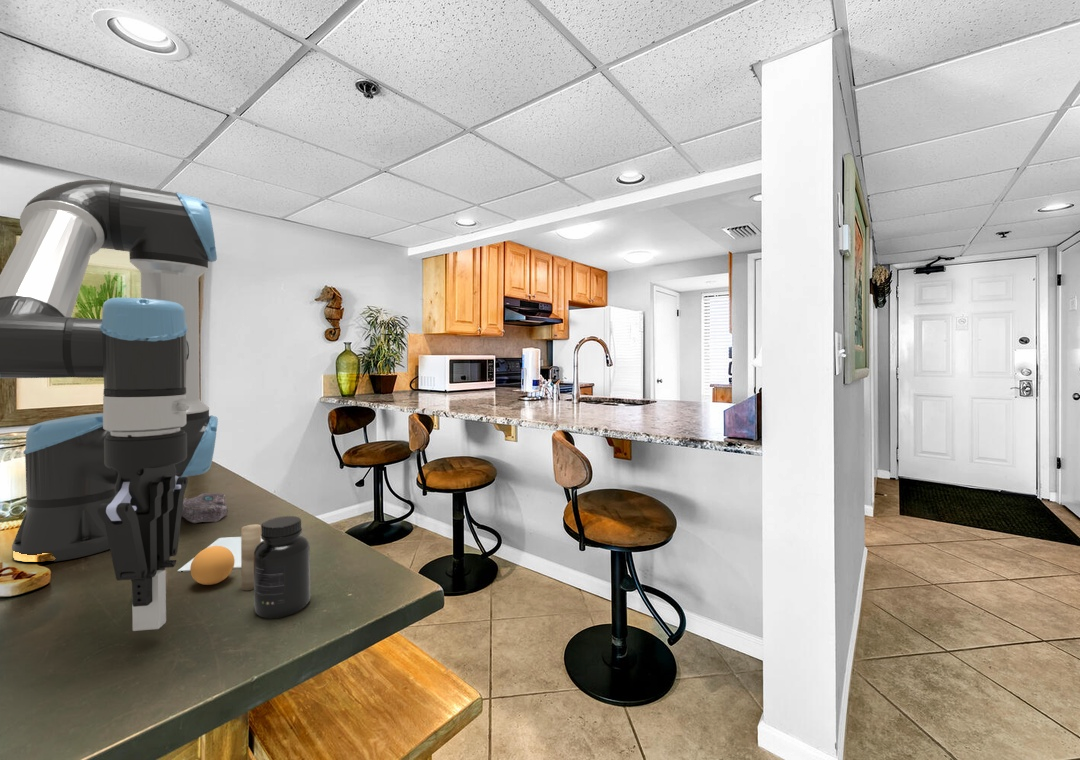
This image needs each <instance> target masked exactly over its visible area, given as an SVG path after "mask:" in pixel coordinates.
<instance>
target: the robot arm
mask: <svg viewBox="0 0 1080 760" xmlns="http://www.w3.org/2000/svg"><path fill="white" fill-rule="evenodd" d="M19 225H20V229H21V230H22V233H21V235H20V236H19V238H18V241H17V243H16V244H15V246H14V248H13V250H12V252H11V254H10V255H9V258H8V259H7V261H6V263H5V265H4V267H3V269H2V271H1V273H0V379H45V378H46V379H48V378H49V379H50V378H51V379H53V378H65V379H66V378H84V379H85V378H88V379H90V378H91V379H92V378H93V379H95V378H96V379H97V378H100V379H101V378H103V393H102V394H103V395H102V397H103V398H102V401H103V404H102V407H103V408H102V410H103V411H102V412H99V413H90V414H83V415H74V416H70V417H69V416H68V417H62V418H56V419H50V420H46V421H42V422H38V423H36V424H34V425H33V424H32V426H30V427H29V428H28V430H27V432H26V433H25V434H26V435H25V447H24V451H23V455H24V456H25V457H24V459H25V460H24V461H25V462H24V463H25V487H26V488H25V489H26V490H25V491H26V492H25V493H26V511H25V513H24V515H23V519H22V521H21V523H20V525H19V528H18V530H17V532H16V535H15V538H14V540H13V542H12V545H11V551H12V550H13V551H15V552H19V553H21V554H27V555H37V554H42V553H52V554H53V555H52V556H54V557H55V558H56V559H55V561H54V562H60V561H68V560H73V559H77V558H82V557H87V556H91V555H94V554H98V553H102V552H106V551H108V550H109V551H110V556H111V561H112V565H113V569H114V574H115V579H116V580H117V581H131V597H132V598H131V600H132V601H131V603H132V604H131V605H132V607H131V608H132V610H131V611H132V612H131V613H132V632H136V631H137V632H138V631H148V630H150V631H151V630H159V629H160V628H162V627H163V625H165V624H166V623H167V599H166V598H167V592H166V570H165V568H167V569H168V568H174V567H175V566H176V564H177V560H176V559H174V560H173V559H172V560H171V559H170V558H171V557H176V555H178V547H179V540H180V532H181V523H182V517H181V516H182V507H183V501H184V499H185V498H184V497H185V492H186V490H187V487H188V483H189V479H188V477H192V476H200V475H204V474H205V473H207V472H208V471H210V468H211V467H212V466H211V465H212V464H213V463H212V462H213V458H214V452H215V445H216V440H217V439H216V438H217V430H218V429H217V428H218V424H219V423H218V422H219V421H218V420H219V419H218V417H217V416H214V415H210V407H209V406H208V405H207V404H205V403H204V402H203V401H202V400H201V399H200V396H201V394H200V392H201V391H200V324H199V323H200V315H199V314H200V313H199V312H200V311H199V310H200V306H199V305H200V303H199V302H200V301H199V299H200V294H199V292H200V291H199V286H200V285H199V284H200V283H199V278H200V277H201V276H203V275H204V274H205V273H207V272H208V271H209V263H214V262H216V261H217V260H218V258H217V257H218V256H217V248H216V241H215V233H214V227H213V222H212V215H211V211H210V207H209V206H208V204H207V203H206V201H204V200H203V199H201V198H200V197H199V198H198V197H194V196H189V195H186V194H181V193H179V192H172V191H167V190H161V189H154V188H148V187H142V186H136V185H131V184H125V183H120V182H119V183H118V182H113V181H111V180H110V181H109V180H105V179H82V180H81V179H80V180H75V181H74V180H73V181H69V182H65V183H60V184H58V185H55V186H53V187H50V188H48V189H45V190H44V191H42V192H40V193H39V194H37V195H35V196H34V197H33V198H32V199H30V201H28V202H27V204H26V205H25V207H24V208H23V210H22V211H21V214H20V216H19ZM100 249H107V250H115V251H120V252H128V254H129V263H131V264H132V265H133V266H134V267H135V268H136V269H137V270H138V271H139V272H140V297H112V298H108V299H107V300H105V301H104V302H103V304H102V313H101V315H102V316H101V318H89V317H88V318H85V317H73V316H72V315H73V313H74V308H75V306H76V302H77V300H78V296H79V293H80V290H81V286H82V283H83V281H84V277H85V274H86V271H87V267H88V264H89V261H90V258H91V256H92V255H94V254H96V253H97V252H99V250H100Z"/></svg>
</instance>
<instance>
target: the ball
mask: <svg viewBox="0 0 1080 760" xmlns="http://www.w3.org/2000/svg"><path fill="white" fill-rule="evenodd" d="M207 547H208V546H207ZM207 547H206V548H204V549H203V550H200V551H199V552H198V553H197V554H196V555H195V558H194V557H193V558H194V559H193V558H192V559H193V561H192V563H191V567H190V571H189V573H190V575H191V577H192V579H193V580H194V581H195V582H197V583H199V584H201V585H206V586H208V585H209V586H211V585H216V584H218V583H220V582H222V581H224V580H225V579H226V578H228V577H229V575H231V573H232V571H233V569H234V568H233V567H234V563H235V560H234V556H233V554H232V552H231V551H230V550H229V549H227V548H225V547H222V546H211V547H208V548H207Z"/></svg>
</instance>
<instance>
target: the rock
mask: <svg viewBox="0 0 1080 760" xmlns="http://www.w3.org/2000/svg"><path fill="white" fill-rule="evenodd" d="M228 511H229V510H228V507H227V504H226V494H225V493H220V492H202V493H200V494H199V495H198V496H194V497H191V498H187V497H185V498H183V507H182V516H181V518H184V519H185V520H186V521H188V522H190V523H191V524H197V523H202V522H203V523H217V522H218V521H220V520H221V519H223V518H225V517H226V516H227V514H228Z"/></svg>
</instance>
